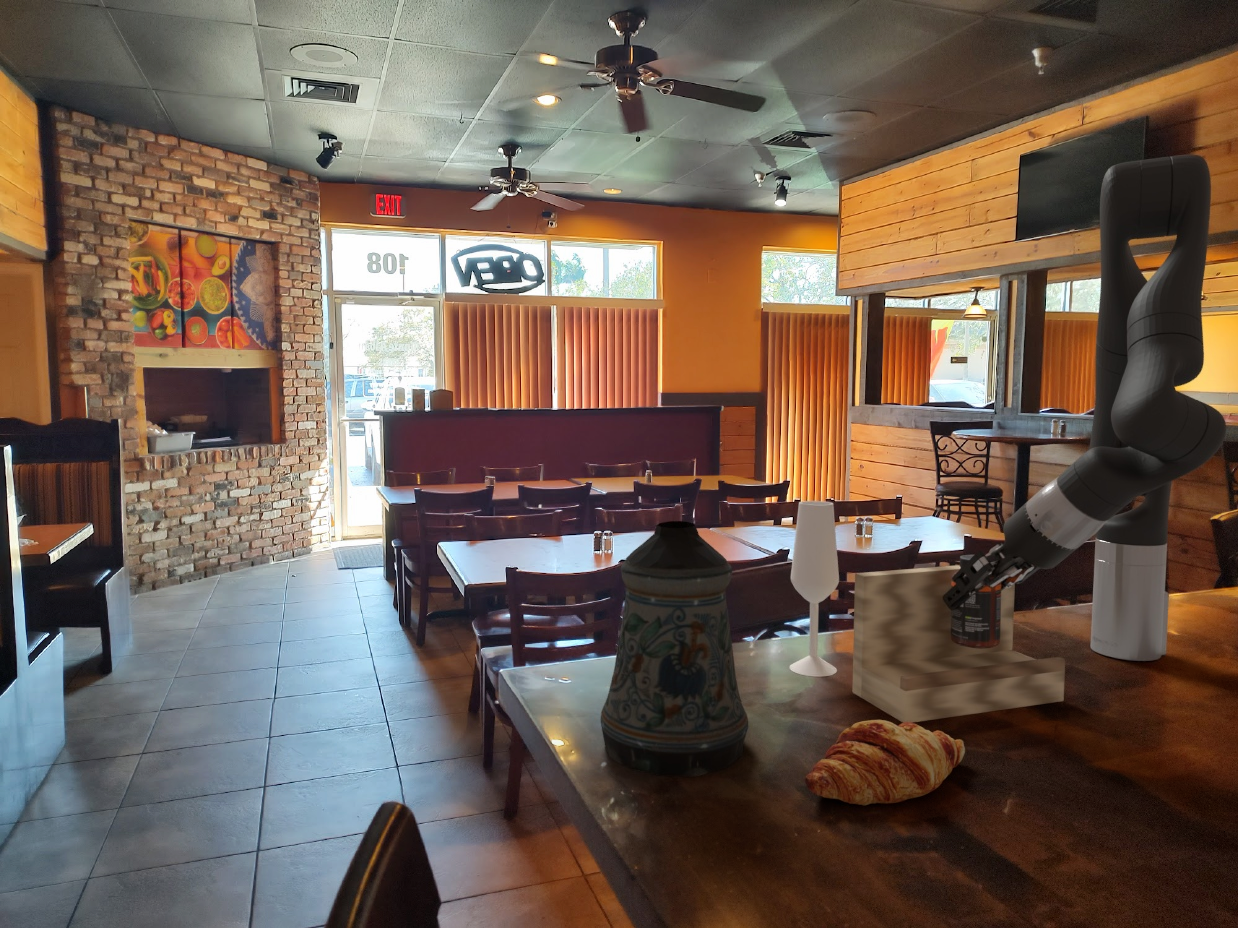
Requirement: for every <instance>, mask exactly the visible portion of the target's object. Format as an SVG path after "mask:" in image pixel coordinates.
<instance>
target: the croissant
mask: <svg viewBox="0 0 1238 928" xmlns="http://www.w3.org/2000/svg"><path fill="white" fill-rule="evenodd" d="M965 753H966V748H965V744H964V741H963V739H959V738H958V739H954V738H952V737H951V736H950V735H949V734H946V733H945V732H944V731H942V730H938V729H937V730H934V731H933V732H932V731H930V730H929V729H925V727H922V726H920V725H918V724H917V723H915V722H912V723H911V722H905V723H903V722H901V723H900V724H899V725H897V724H895V723H893V722H891V721H888V720H884V719H883V720H882V719H871V720H863V721H859V722H856V723H853V724H852V725H851V726H849V727H847V728H845V729H844V730H843V731H841V733H839V735H838V738H837V739H836V742H835V744H833V745H832V746H831V747H829V748H828V750H827V751H826V753H825V756H824V758H822V759H820V760H819V761H818V762H817V763H815V764H814V765H813V767H812V768H811V770H810V772H809V773H808V774H806V775H805V777H804V782H805V785H806V787H807V789H808V791H809V792H811V793H813V794H814V795H815V794H816V795H817V796H818V797H819V796H821V797H823V798H826V799H833V800H834V799H835V800H840V801H842V802H844V803H848V804H849V805H850V804H852V805H853V804H855V805H860V806H861V805H862V806H863V807H864V806H868V805H870V804H873V805H874V804H875V805H876V804H896V803H902V802H905V801H906V800H909V799H915V798H920V797H923V796H925V795H927V794H929V793H931V792H933V791H935V790H937V788H939V787H940V786H941V784H943V781H944V780H945V779H946V778H947V777H948V776H949V775H950V774H951V773H952V771H953V768H956V767H957V766H958V765H959V764H960V763H961V762H962V760H963V758H964V757H965Z"/></svg>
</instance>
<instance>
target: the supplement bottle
mask: <svg viewBox="0 0 1238 928" xmlns="http://www.w3.org/2000/svg"><path fill="white" fill-rule="evenodd" d="M974 555H975V554H965V555H960V556H959V566H960V567H961V568H962V567H963V566H964V565H965V564H966V563H967V562H968V561H969V560H970V559H971V558H972V557H973V556H974ZM961 568H960V569H961ZM956 573H957V572H956ZM956 573H954V574H953V576H954V575H955V574H956ZM953 576H952V577H953ZM987 576H988V577H989V579H994V576H992V575H991V574H990V575H987ZM980 583H981V582H980ZM954 585H956V583H955V582H954V581H953V579H952V587H953V586H954ZM952 587H951V588H952ZM1000 624H1001V582H1000V583H998V584H997V585H995V586H994V587H992V588H989V587H984V588H983V589H981V590H980V591H978V592H977V593H976V594H975V595H973V596H971V597H970V598H969V599H968V600H967V601H966V602H964V603H963V604H962V605H961V606H960V607H959V608H957V609H955V610H951V639H952V641H953V642H955V643H956V644H958V645H960V646H965V647H970V648H980V649H984V648H993V647H996V646H997V645H998V644H999V643H1000V628H1001V625H1000Z"/></svg>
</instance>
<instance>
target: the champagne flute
mask: <svg viewBox="0 0 1238 928" xmlns="http://www.w3.org/2000/svg"><path fill="white" fill-rule="evenodd" d="M797 508H798V509H797V518H796V527H795V536H794V544H793V546H794V547H793V552H792V553H793V555H792V560H791V561H792V563H791V571H790V582H791V584H792V585H793V587H794V589H795V591H797V592H798V594H799V595H801V596H802V598H803V599H804V600H805V601H807V602H808V603H809V636H808V637H809V638H808V639H809V641H808V642H809V643H808V644H809V645H808V646H809V647H808V655H807V656H805V657H803V658H801V659H800V660H797V661H795V662H794V663H791V664H790V665H789V670H791V672H793V673H796V674H798V675H801V676H805V677H828V676H833V675H835V674H836V673H837V672H838V670H837V668H836V667H835V666H834V665H832V664H831V663H829V662H827V661H825V660H824V658H821V657H820V656H819V655H818V654H819V653H818V651H819V649H818V648H819V647H818V645H819V643H818V642H819V639H818V638H819V603H821V602H823V601H825V599H827V598H828V597H830V595H831V594H832V593H833V592H834V591H835V590H836V589H837V587H838V585H839V582H840V575H839V564H838V563H839V561H838V560H839V559H838V549H837V538H836V537H837V535H836V522H835V509H834V508H835V507H834V502H831V501H821V500H804V501H803V500H802V501H799V502H798V507H797Z"/></svg>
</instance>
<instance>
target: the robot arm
mask: <svg viewBox="0 0 1238 928" xmlns="http://www.w3.org/2000/svg"><path fill="white" fill-rule="evenodd" d="M1211 180H1212V179H1211V173H1210V168H1209V165H1208V162H1207V160H1206V159H1205V158H1204V157H1203V156H1201V155H1198V154H1180V155H1179V154H1177V155H1172V156H1171V155H1170V156H1164V157H1155V158H1148V159H1141V160H1139V159H1138V160H1132V161H1126V162H1121V163H1117V164H1114V165H1112V166H1110V167H1109V168H1108V169H1107V171H1106V172H1105V174H1104V176H1103V179H1102V183H1101V187H1100V188H1101V190H1100V199H1099V232H1100V233H1099V234H1100V235H1099V236H1100V237H1099V238H1100V239H1099V241H1100V290H1099V291H1100V292H1099V293H1100V294H1099V305H1098V315H1097V325H1096V326H1097V327H1096V336H1095V338H1096V339H1095V341H1096V342H1095V359H1094V363H1095V364H1094V366H1095V367H1094V371H1095V373H1094V375H1095V376H1094V377H1095V378H1094V379H1095V380H1094V382H1095V383H1094V386H1095V387H1094V388H1095V389H1094V390H1095V391H1094V392H1095V393H1094V394H1095V395H1094V409H1093V418H1092V420H1093V421H1092V426H1091V434H1090V435H1091V436H1090V441H1089V442H1090V443H1089V449H1088V450H1087V451H1085V452H1084V453H1083V454H1082V455H1081V456H1079V457H1078V458H1077V459H1076V460H1075V461H1074V462H1072V464H1071V465H1069V466H1068V467H1067V468H1066V469H1064V471H1063V472H1062V473H1060V475H1058V476H1057V477H1056V478H1054V479H1053V480H1051V481H1050V482H1048V483H1047V484H1046V485H1044V486H1043V487H1042V488H1041V489H1040V490H1039V491H1037V493H1035V494H1033V496H1032V497H1031V498H1029V500H1028V501H1026V502H1025V503H1024V504H1023V505H1022V506H1021V507H1019V509H1018V510H1017V511H1015V512H1014V513H1013V514H1012V515H1010V516H1009V518H1007V520H1006V521H1005V522H1004V524H1003V527H1002V528H1003V536H1004V543H1002V542H1000V543H997V544H996V545H995V546H993V547H991V548H990V550H989V552H988V553H984V552H983V551H982V550H981V551H977V552H975V554H973V555H974V556H973V557H972V558H971V559H970V560H969V561H968V562H967V563H966V564H965V565H964V566H963V567H962V568H961V569H960V570H959V571H958V572H957V573H956V574H955V575H954V576H953V577H952V579H953V581H954V582H955V583H956V585H954V586H953V587H952V588H951V589H950V590H949V591H948V592H947V593H945V594H944V595H943V601H944V602H945V603H946V605H947V606H948V608H949V609H950V610H955V609H957V608H959V607H960V606H961V605H962V604H963V603H964V602H966V601H967V600H968V599H969V598H970V597H971V596H973V595H975V594H976V593H977V592H978V591H980V590H981V589H983V588H984V587H989V588H992V587H994V586H995V585H997V584H998V583H1000V582H1001V591H1002V590H1003V589H1005V588H1010V587H1011V586H1012V585H1013V584H1014V583H1015V584H1017V585H1018V584H1022V583H1023V582H1024V581H1026V580H1027V579H1028V578H1030V577H1031V576H1032V575H1034V574H1035V573H1036V572H1037V571H1038V570H1040V569H1044V570H1049V569H1054V568H1055V567H1057V566H1058V565H1059V564H1060V563H1061V562H1062V561H1064V560H1065V559H1066V558H1068V557H1069V556H1070V555H1071V554H1073V553H1074V552H1075V551H1076V550H1077V549H1079V548H1080V547H1081V546H1082V545H1084V543H1086V542H1087V541H1088V540H1090V539H1091V538H1092V537H1093V536H1095V544H1094V545H1095V547H1094V565H1093V586H1092V587H1093V589H1092V608H1091V629H1090V631H1091V632H1090V649H1091V650H1092V651H1093V652H1095V653H1098V654H1100V655H1103V656H1106V657H1111V658H1114V659H1120V660H1125V661H1134V662H1135V661H1137V662H1141V661H1142V662H1146V661H1148V662H1149V661H1157V660H1159V659H1160V658H1161V657H1162V656H1165V655H1167V641H1168V640H1167V637H1168V622H1169V620H1168V619H1169V606H1170V605H1169V603H1170V602H1169V601H1170V594H1169V592H1167V591H1166V574H1167V573H1166V572H1167V570H1166V569H1167V553H1168V552H1167V551H1168V537H1169V535H1168V531H1169V530H1168V529H1169V528H1168V526H1169V510H1170V499H1171V491H1172V490H1171V489H1172V483H1173V481H1175V480H1177V479H1180V478H1181V477H1184V476H1186V475H1188V474H1190V473H1192V472H1194V471H1196V470H1197V469H1199V468H1200V467H1202V466H1203V465H1204V464H1206V463H1207V462H1208V461H1210V459H1212V458H1213V456H1214V455H1215V454H1216V453H1217V452H1218V450H1220V448H1221V446H1222V444H1223V442H1224V440H1225V437H1226V434H1227V423H1226V420H1225V417H1224V415H1222V413H1221V412H1220V411H1219V410H1217V409H1216V408H1215V407H1214V406H1212V405H1209V404H1207V403H1205V402H1202V401H1201V400H1199V399H1195V398H1193V397H1191V396H1189V395H1187V394H1185V393H1182V392H1181V391H1178V390H1176V388H1177V387H1181V386H1184V385H1186V384H1189V383H1191V382H1192V381H1194V380H1195V379H1197V378H1198V376H1199V375H1200V374H1201V373H1202V371H1203V367H1204V363H1205V362H1204V361H1205V352H1204V351H1205V350H1204V334H1203V333H1204V331H1203V329H1204V328H1203V316H1202V314H1203V313H1202V299H1203V297H1202V296H1203V295H1202V294H1203V284H1204V278H1205V272H1206V271H1205V269H1206V265H1207V264H1206V262H1207V252H1208V244H1209V229H1210V217H1211V204H1212V203H1211V202H1212V198H1211V197H1212V184H1211V183H1212V182H1211ZM1173 236H1176V238H1175V242H1174V244H1173V248H1172V249H1171V250H1170V252H1169V254H1168V255H1167V257H1166V258H1165V259H1164V261H1163V263H1162V264H1160V266H1159V268H1157V270H1156V271H1155V272H1154V274H1153V275H1152V276H1151V277H1150V278H1149V279H1147V278H1146V277H1145V276H1144V274H1143V273H1142V271H1141V269H1140V268H1139V266H1138V264H1137V262H1136V260H1135V258H1134V255H1133V254H1132V250H1131V248H1130V243H1129V242H1130V241H1131V240H1141V239H1142V240H1143V239H1152V238H1153V239H1154V238H1165V237H1173ZM1138 497H1144V500H1143V502H1141V504H1139V505H1137V506H1136V507H1134V508H1132V509H1131V510H1128V511H1124V512H1123V513H1119V512H1120V511H1122V510H1123V509H1124V508H1125V507H1127V505H1129V504H1130V503H1131V502H1132V501H1133V500H1135V499H1136V498H1138ZM1118 513H1119V514H1118ZM990 574H991V575H992V576H994V579H989V577H988V576H987V575H990ZM980 582H981V583H980ZM1004 587H1005V588H1004Z"/></svg>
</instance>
